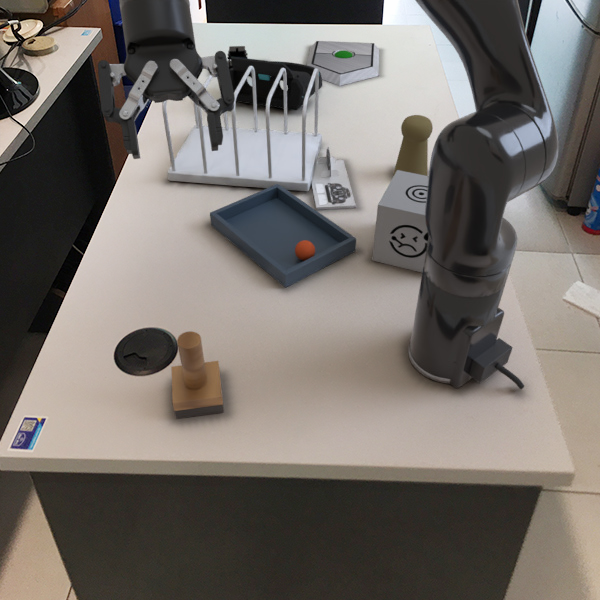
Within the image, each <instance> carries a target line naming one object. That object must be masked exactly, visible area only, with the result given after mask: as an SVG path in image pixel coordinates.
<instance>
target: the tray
mask: <svg viewBox="0 0 600 600" xmlns="http://www.w3.org/2000/svg"><path fill="white" fill-rule="evenodd" d="M209 219H210V225H211V227H212V228H214V229H215V230H217V231H218V232H219V233H220V234H221V235H222V236H223V237H225V238H226V239H227V240H228V241H229V242H231V243H232V245H234V246H235V247H236V248H238V249H239V250H240V251H241V252H242V253H243V254H245V255H246V256H247V257H248V258H250V259H251V260H252V261H253V262H255V263H256V265H258V266H259V267H260V268H261V269H263V270H264V271H265V272H266V273H267V274H269V276H271V278H273V279H274V280H275V281H277V282H278V283H279V284H280V285H282V286H283V287H284V288H288V287H290V286H292V285H294V284H295V283H297V282H299V281H301V280H303V279H306V278H307V277H309V276H311V275H313V274H315V273H317V272H319V271H320V270H322V269H324V268H326V267H328V266H330V265H332V264H333V263H335V262H337V261H339V260H341V259H343V258H345V257H348V255H351V254H353V253H354V252H356V250H357V238H356V236H353V235H352V234H351V233H349V232H348V231H346V230H345V229H344V228H342V227H341V226H339V225H338V224H337V223H335V222H334V221H332V220H331V219H329V218H328V217H326V216H325V215H324V214H322V213H321V212H319V211H318V210H316V208H313V207H312V206H311V205H309V204H308V203H306V202H305V201H303V200H302V199H300V198H299V197H297V196H296V195H294V194H293V193H292V192H290V190H286V189H285V188H283V187H282V186H280V185H279V184H276V185H274V186H271V187H269V188H263V189H262V190H260V191H257V192H255V193H252V194H251V195H248V196H245V197H243V198H241V199H239V200H236V201H233V202H231V203H229V204H227V205H225V206H222V207H220V208H217V209H216V210H212V211H211V212H209ZM303 240H307V241H310V242H311V243H312V244H313V245H314V247H315V254H314V256H313V257H311V258H309V259H307V260H305V261H304V260H301V259H299V258H298V257H297V256H296V254H295V247H296V245H297V244H298V243H299V242H300V241H303Z"/></svg>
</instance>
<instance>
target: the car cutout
mask: <svg viewBox="0 0 600 600" xmlns="http://www.w3.org/2000/svg"><path fill="white" fill-rule="evenodd" d="M310 186H311V190H312V195H313V201H314V206H315V210H316V211H318V210H319V211H320V210H321V211H322V210H338V209H339V210H340V209H354V208H355V209H356V208H357V204H356V200H355V196H354V194H353V190H352V186H351V182H350V179H349V175H348V172H347V168H346V164H345V160H344V159H343V158H342V159H336V157H335V156H331V151H330V148H329V146H327V148H326V156H321V157H318V158H317V161H316V165H315V169H314V173H313V177H312V181H311V185H310Z"/></svg>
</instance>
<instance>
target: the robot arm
mask: <svg viewBox="0 0 600 600" xmlns="http://www.w3.org/2000/svg"><path fill="white" fill-rule="evenodd" d="M414 1H415V2H416V4H417V5H418V6H419V7H420V8H421V9H422V11H423V12H424V13H425V15H427V17H428V18H429V19H430V21H431V22H432V23H433V24H434V25H435V27H437V29H438V30H439V31H440V32H441V33H442V34H443V36H444V37H445V38H446V39H447V40H448V42H449V43H450V44H451V45H452V47H453V49H454V50H455V52H456V53H457V55H458V58H459V59H460V61H461V63H462V65H463V67H464V70H465V73H466V76H467V79H468V83H469V86H470V90H471V94H472V100H473V103H474V108H475V111H473V112H471V113H469V114H467V115H464V116H462V117H460V118H457V119H455V120H453V121H451V122H450V123H448V124H447V125H446V126H444V128H443V129H441V131H440V132H439V134H438V135H437V138H436V140H435V142H434V145H433V148H432V152H431V156H430V161H429V167H428V168H429V169H428V176H429V177H428V187H427V197H426V207H425V222H426V227H427V231H428V235H429V237H428V244H427V250H426V256H425V262H424V267H423V272H422V273H421V278H420V284H419V290H418V295H417V302H416V306H415V307H416V308H415V313H414V318H413V324H412V331H411V336H410V339H409V343H408V349H407V350H408V351H407V353H408V358H409V361H410V363H411V365H412V366H413V367H414V369H415V370H416V371H417V372H418V373H420V374H421V375H422V376H424V377H425V378H427V379H430V380H432V381H434V382H437V383H441V384H449V385H451V386H452V387H453V388H455V389H460V388H461V387H462V386H463V385H465V384H467V382H469V381H470V380H472V379H473V380H475V381H476V382H478V384H481V383H482V382H484V381H485V380H486V379H488V378H489V377H490V376H493V374H494V373H496V372H497V371H499V372H500V373H502V374H503V376H505V377H507V378H508V379H509V380H511V381H512V382H513V383H514V384H515V385H516V386H517V388H518V389H520V390H522V389H524V388H525V385H524V383H523V382H522V380H521V379H520V378H519V377H517V375H515V374H514V373H513V372H511V370H509V369H507V368H506V367H505V365H506V364H508V362H509V359H510V356H511V354H512V351H513V346H511V345H510V344H509V343H507V342H506V341H504V340H503V339H501V338H500V337H498V336H499V333H500V331H501V327H502V324H503V319H504V316H505V311H504V310H503V309H502V308H500V304H501V301H502V297H503V293H504V291H505V287H506V283H507V281H508V277H509V274H510V271H511V266H512V263H513V261H514V257H515V254H516V251H517V246H518V235H517V232H516V230H515V228H514V226H513V225H512V224H511V222H510V221H508V220H507V219H506V218H504V215H505V210H506V207H507V204H508V203H509V202H511V201H512V200H515V199H516V198H518V197H520V196H522V195H523V194H525V193H527V192H529V191H531V190H533V189H534V188H536V187H539V186H540V185H541V184H542V183H544V182H545V181H546V180H547V179H548V178H549V177H550V176H551V175H552V174H553V171H554V169H555V167H556V164H557V162H558V157H559V136H558V131H557V127H556V123H555V119H554V115H553V111H552V109H551V106H550V103H549V100H548V97H547V94H546V91H545V88H544V86H543V82H542V80H541V77H540V73H539V70H538V67H537V65H536V62H535V59H534V55H533V52H532V49H531V47H530V43H529V40H528V36H527V32H526V29H525V25H524V21H523V17H522V13H521V9H520V4H519V0H414ZM118 2H119V10H120V15H121V16H120V17H121V23H122V30H123V37H124V45H125V53H126V58H125V61H124V63H110V62H109V61H107V60H106V59H101V60H99V61H98V63H97V73H98V86H99V99H100V111H101V113H102V115H103V118H104V119H105V121H106V122H107V123H115V124H118V125H120V126H121V133H122V140H123V141H122V142H123V146H124V149H125V151H126V153H127V154H128V155H132V158H133V160H138V159H141V151H140V146H139V138H138V131H137V125H136V122H135V121H136V120H137V118H138V116H139V115H140V113H141V112H143V110H144V109H145V107H146V106H147V104H148V102H149V101H152V102H154V103H155V104H157V103H158V104H159V103H162V102H164V101H167V102H168V101H175V102H179V101H180V102H181V101H184V99H185V98H187V97H188V98H189V99H190V100H191V101H192V103H193V102H194V103H195V104H196V105H197V106H200V107H201V110H202V111H203V112H204V113H206V122H207V126H208V129H209V136H210V143H211V149H212V151H218V145H222V142H223V132H222V127H223V126H222V118H221V116H222V115H224V112H227V113H228V112H231V111H232V110H233V109H234V102H235V96H234V91H233V87H232V82H231V77H230V72H229V68H228V63H227V61H228V59H227V54H226V52H225V51H223V50H218V51H216V52H215V54H214V55H209V56H202V57H201V55H200V54H199V52H198V51H197V47H196V46H197V45H196V41H195V39H196V38H195V32H194V26H193V20H192V12H191V2H190V0H118ZM203 70H207V71H208V73H209V74H210V75H211V76H212V77H213V78H216V79H217V83H218V87H219V88H218V89H219V92H220V98H217V99H216V98H215V97H214V96H213V95H211V93H210V92H209V91H208V89H207V88H205V87H204V86H203V84H202V83H201V81H200V80H199V78H200V76H201V74H202V73H203ZM124 76H125V77H126V78H127V79H128V80H129V81H130V83H131V84H133V86H132V88H131V89H130V91H129V93H128V96H127V99H126V100H125V102H124V104H123V105H122V106H121V107H116V98H115V87H117V86H119V85H120V83H121V79H122V77H124Z"/></svg>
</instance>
